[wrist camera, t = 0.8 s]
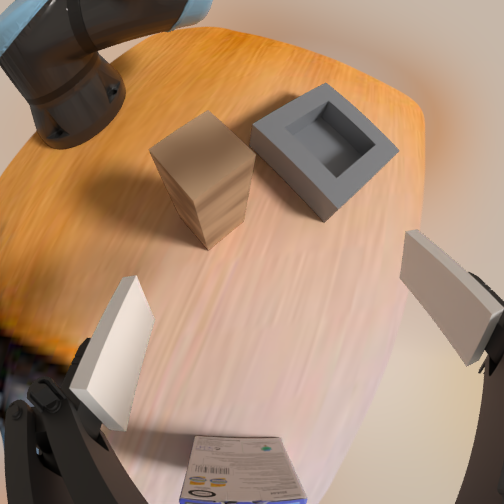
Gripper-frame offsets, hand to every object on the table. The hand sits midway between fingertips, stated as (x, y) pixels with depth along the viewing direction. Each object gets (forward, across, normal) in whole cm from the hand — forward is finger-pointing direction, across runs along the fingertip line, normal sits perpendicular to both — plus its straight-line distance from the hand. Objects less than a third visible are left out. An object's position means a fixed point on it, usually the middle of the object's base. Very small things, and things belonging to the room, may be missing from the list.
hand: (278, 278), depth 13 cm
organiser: (+24, +9, +1) cm, 26 cm away
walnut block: (+18, -5, -3) cm, 19 cm away
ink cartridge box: (+1, -7, -24) cm, 25 cm away
